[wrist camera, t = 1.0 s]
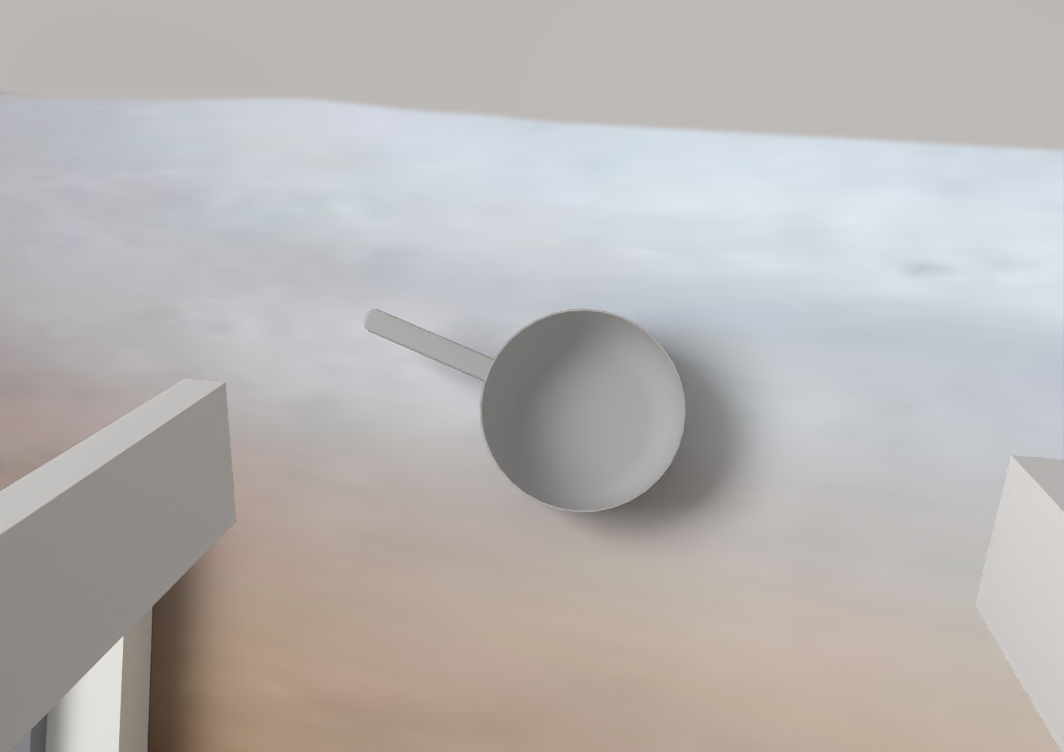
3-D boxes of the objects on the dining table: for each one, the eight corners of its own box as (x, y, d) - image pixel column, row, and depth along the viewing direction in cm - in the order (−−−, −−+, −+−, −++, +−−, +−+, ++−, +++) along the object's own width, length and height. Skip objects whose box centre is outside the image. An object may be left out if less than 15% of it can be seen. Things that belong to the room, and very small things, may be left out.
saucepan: (634, 545, 47) (639, 546, 43) (341, 417, 49) (321, 407, 46) (707, 367, 49) (717, 353, 45) (420, 250, 51) (407, 228, 47)
